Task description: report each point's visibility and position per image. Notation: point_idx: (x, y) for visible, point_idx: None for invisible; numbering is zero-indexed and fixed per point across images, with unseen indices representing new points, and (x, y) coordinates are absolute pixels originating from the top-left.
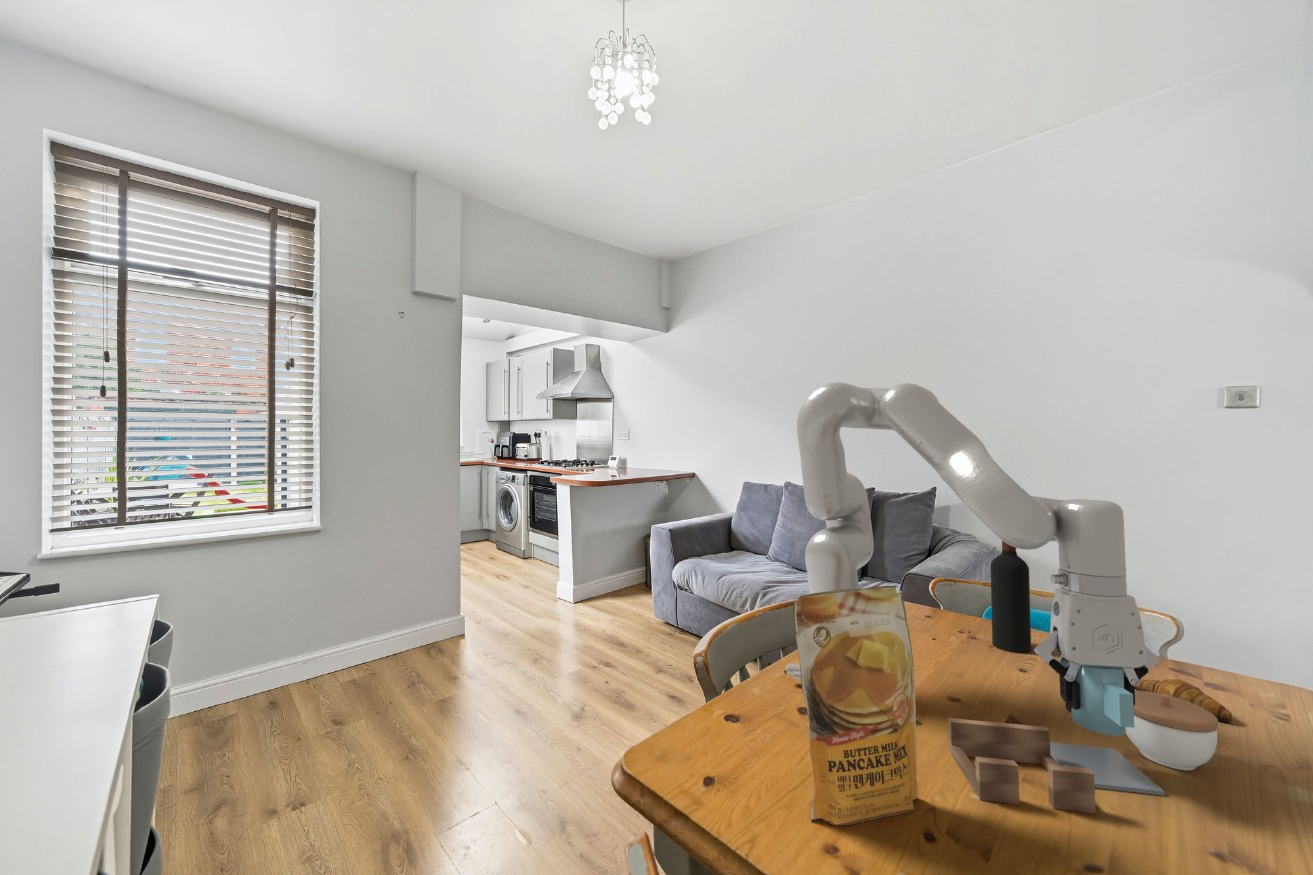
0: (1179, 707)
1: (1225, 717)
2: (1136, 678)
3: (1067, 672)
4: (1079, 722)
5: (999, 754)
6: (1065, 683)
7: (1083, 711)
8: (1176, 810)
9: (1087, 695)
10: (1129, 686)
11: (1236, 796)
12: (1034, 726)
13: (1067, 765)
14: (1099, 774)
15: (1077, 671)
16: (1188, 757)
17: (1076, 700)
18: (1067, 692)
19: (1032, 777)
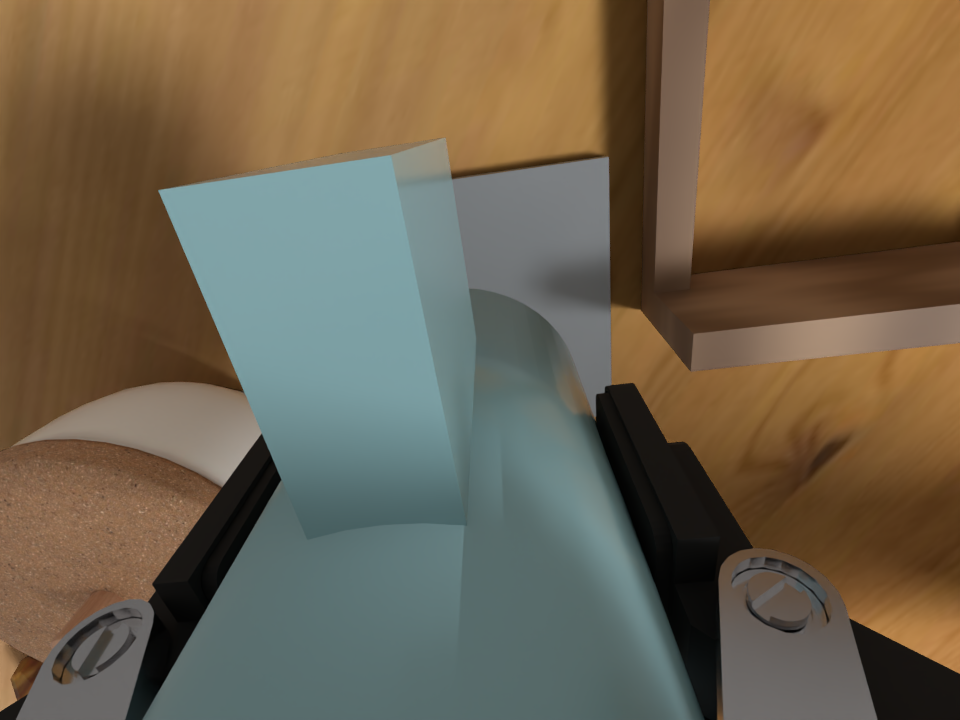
0: (55, 597)
1: (33, 660)
2: (49, 684)
3: (856, 650)
4: (573, 362)
5: (848, 262)
6: (746, 543)
7: (576, 380)
8: (309, 100)
9: (579, 441)
10: (182, 578)
11: (96, 278)
12: (746, 360)
13: (595, 272)
14: (500, 246)
15: (725, 686)
16: (161, 385)
17: (641, 417)
18: (699, 476)
19: (767, 162)
